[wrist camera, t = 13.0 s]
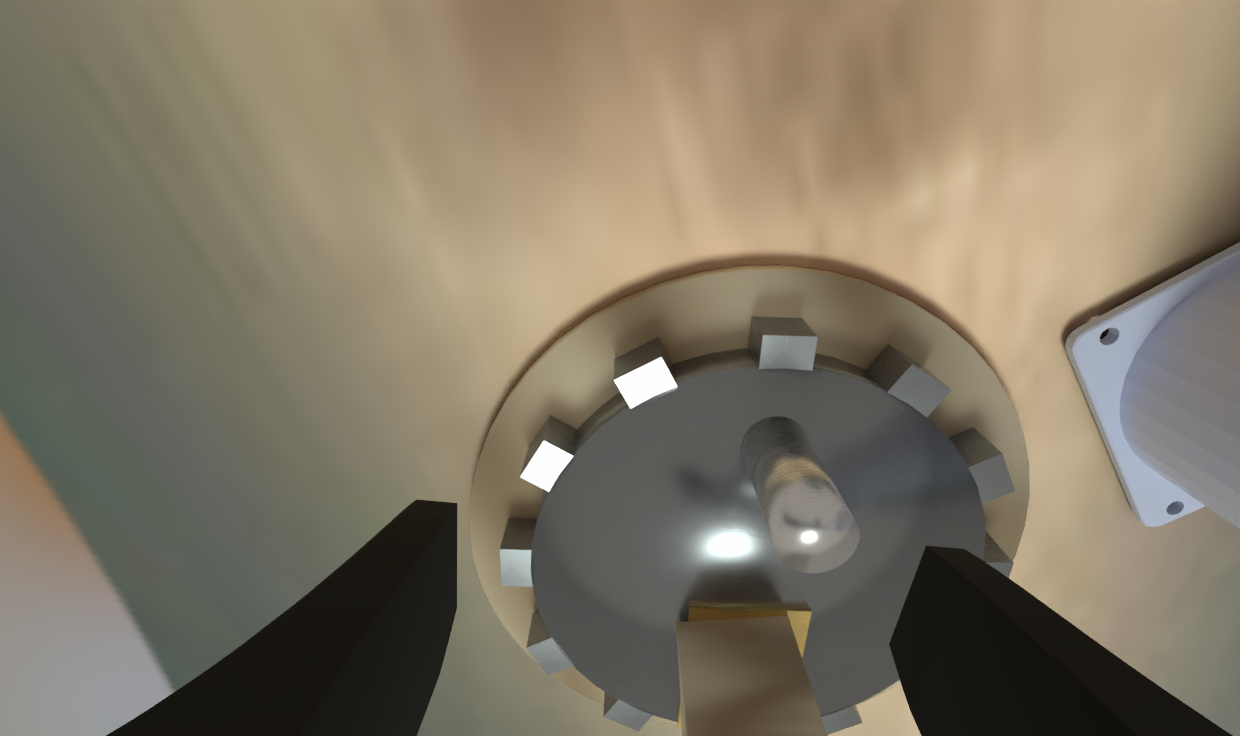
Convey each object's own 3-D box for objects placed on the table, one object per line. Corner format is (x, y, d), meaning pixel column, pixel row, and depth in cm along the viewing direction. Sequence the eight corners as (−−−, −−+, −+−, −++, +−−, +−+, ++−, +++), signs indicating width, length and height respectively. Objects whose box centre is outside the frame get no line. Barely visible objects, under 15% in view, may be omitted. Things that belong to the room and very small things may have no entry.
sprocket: (1053, 325, 17) (1235, 418, 12) (926, 713, 23) (1013, 883, 18) (498, 308, 17) (445, 394, 12) (517, 703, 23) (487, 872, 18)
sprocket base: (875, 130, 16) (921, 134, 13) (1092, 586, 22) (1150, 646, 19) (358, 465, 20) (322, 515, 17) (659, 773, 25) (663, 842, 23)
